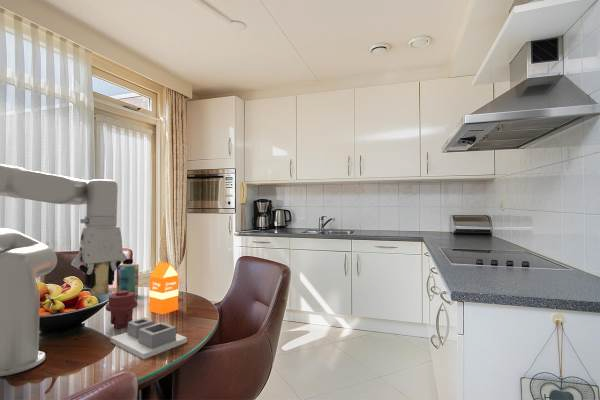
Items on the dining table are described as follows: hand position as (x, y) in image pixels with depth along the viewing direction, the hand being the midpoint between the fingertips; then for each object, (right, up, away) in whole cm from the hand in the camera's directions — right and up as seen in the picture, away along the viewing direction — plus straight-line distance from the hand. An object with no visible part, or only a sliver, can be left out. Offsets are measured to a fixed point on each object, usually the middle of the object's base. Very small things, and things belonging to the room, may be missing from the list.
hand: (99, 285), depth 90 cm
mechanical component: (-8, -22, +25) cm, 34 cm away
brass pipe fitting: (0, -2, 0) cm, 2 cm away
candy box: (-27, -23, +64) cm, 73 cm away
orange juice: (0, -22, +42) cm, 48 cm away
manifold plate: (+9, -21, +10) cm, 25 cm away
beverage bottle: (-21, -22, +52) cm, 61 cm away
